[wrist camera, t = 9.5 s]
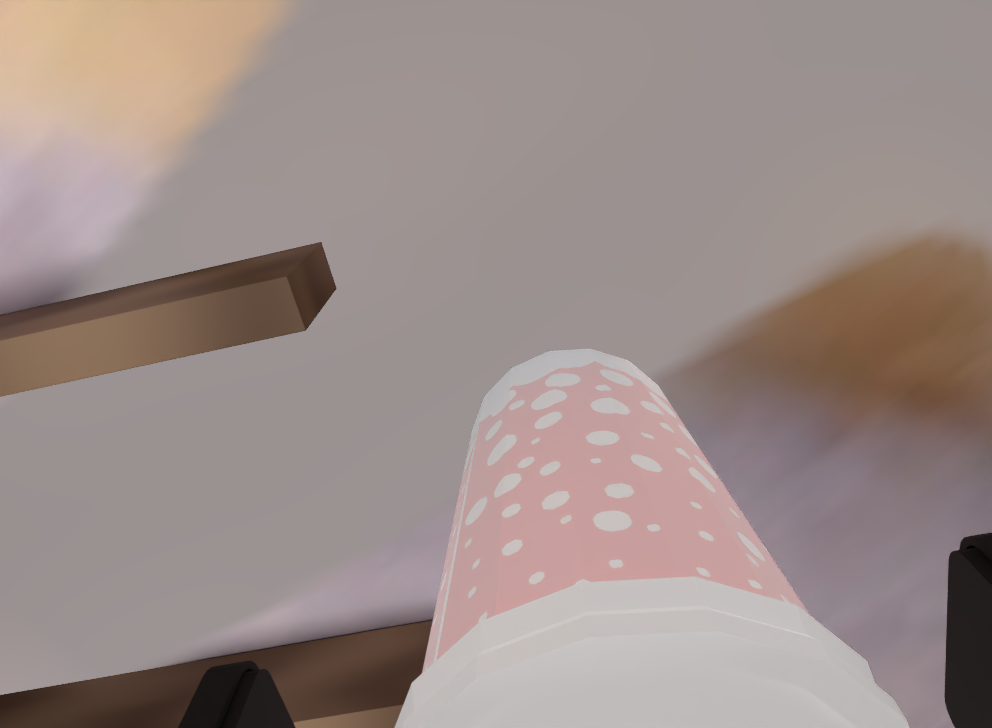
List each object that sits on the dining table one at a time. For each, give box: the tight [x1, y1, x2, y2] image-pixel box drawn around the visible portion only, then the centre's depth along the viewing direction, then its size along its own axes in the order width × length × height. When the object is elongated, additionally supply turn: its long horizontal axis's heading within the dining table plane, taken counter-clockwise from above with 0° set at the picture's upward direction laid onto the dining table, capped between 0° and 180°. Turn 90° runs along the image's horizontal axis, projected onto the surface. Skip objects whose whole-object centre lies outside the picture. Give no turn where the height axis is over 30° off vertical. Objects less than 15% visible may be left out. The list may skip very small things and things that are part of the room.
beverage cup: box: [395, 348, 910, 728], centre depth 10 cm, size 6×6×14 cm
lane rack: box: [0, 242, 433, 728], centre depth 16 cm, size 15×11×2 cm
